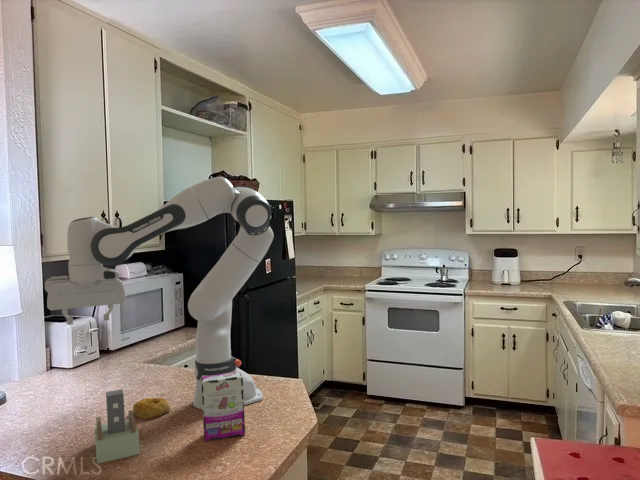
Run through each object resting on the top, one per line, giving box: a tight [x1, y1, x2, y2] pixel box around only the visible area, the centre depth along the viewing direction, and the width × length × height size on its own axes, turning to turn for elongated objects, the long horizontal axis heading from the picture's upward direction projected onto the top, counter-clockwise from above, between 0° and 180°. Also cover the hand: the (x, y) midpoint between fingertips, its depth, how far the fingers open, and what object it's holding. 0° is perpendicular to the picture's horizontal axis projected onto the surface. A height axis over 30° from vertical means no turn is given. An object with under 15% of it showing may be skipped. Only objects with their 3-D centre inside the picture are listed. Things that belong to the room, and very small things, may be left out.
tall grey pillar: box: [105, 389, 126, 434], centre depth 126 cm, size 4×4×10 cm
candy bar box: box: [201, 372, 246, 442], centre depth 133 cm, size 11×5×16 cm, turn 106°
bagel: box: [132, 397, 171, 420], centre depth 150 cm, size 10×11×5 cm
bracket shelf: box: [94, 409, 141, 465], centre depth 126 cm, size 10×12×8 cm
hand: (88, 322), depth 138 cm, fingers open, 8 cm apart
